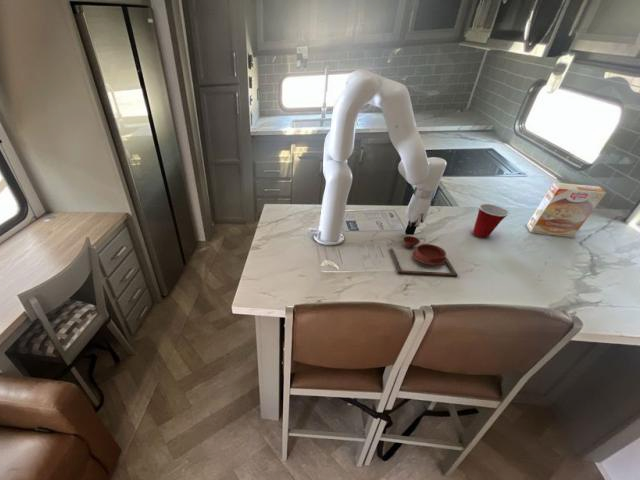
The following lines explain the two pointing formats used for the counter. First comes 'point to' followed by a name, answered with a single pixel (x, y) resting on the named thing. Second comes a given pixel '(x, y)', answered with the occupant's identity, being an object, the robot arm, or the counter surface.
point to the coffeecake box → (565, 209)
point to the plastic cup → (488, 219)
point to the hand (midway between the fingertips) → (409, 233)
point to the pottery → (426, 252)
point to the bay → (452, 274)
